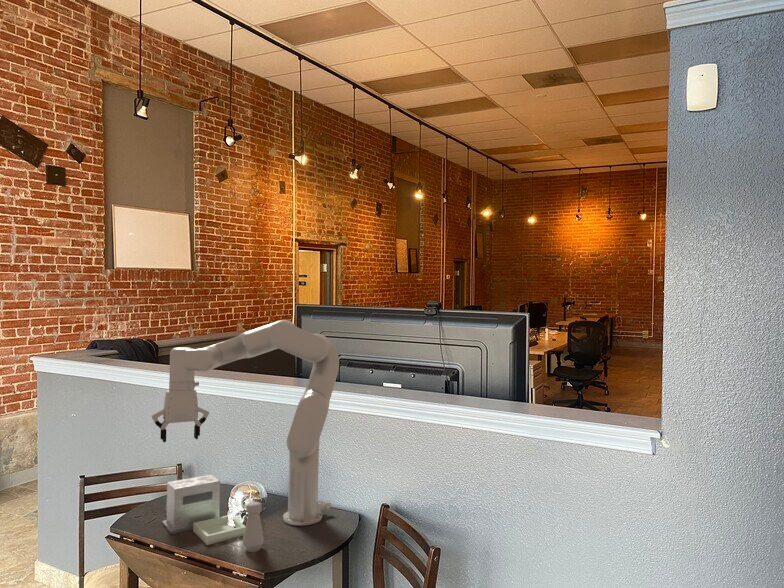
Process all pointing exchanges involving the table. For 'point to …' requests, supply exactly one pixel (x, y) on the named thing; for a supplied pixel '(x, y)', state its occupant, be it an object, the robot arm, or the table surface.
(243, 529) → the tray
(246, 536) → the salt shaker
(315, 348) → the robot arm
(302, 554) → the table surface
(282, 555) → the table surface
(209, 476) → the unit
